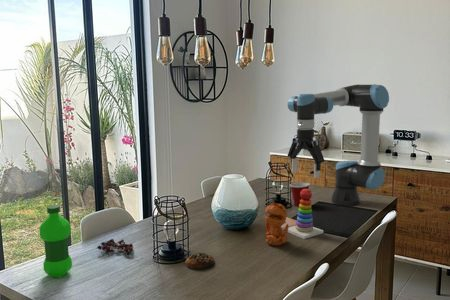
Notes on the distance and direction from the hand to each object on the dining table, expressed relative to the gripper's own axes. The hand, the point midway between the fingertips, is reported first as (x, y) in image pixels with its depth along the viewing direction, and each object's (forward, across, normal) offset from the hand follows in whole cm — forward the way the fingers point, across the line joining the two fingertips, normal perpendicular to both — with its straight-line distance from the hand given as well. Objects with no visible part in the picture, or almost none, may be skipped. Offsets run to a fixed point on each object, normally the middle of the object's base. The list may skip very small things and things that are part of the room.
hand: (305, 174), depth 197 cm
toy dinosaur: (+24, +6, -25) cm, 35 cm away
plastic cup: (+25, -26, +23) cm, 43 cm away
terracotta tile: (+25, -9, -5) cm, 27 cm away
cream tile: (+25, +5, -6) cm, 26 cm away
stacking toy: (+24, +5, -6) cm, 25 cm away
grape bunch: (+24, -27, -81) cm, 88 cm away
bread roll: (+24, +4, -61) cm, 66 cm away
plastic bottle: (+23, -19, -106) cm, 110 cm away
